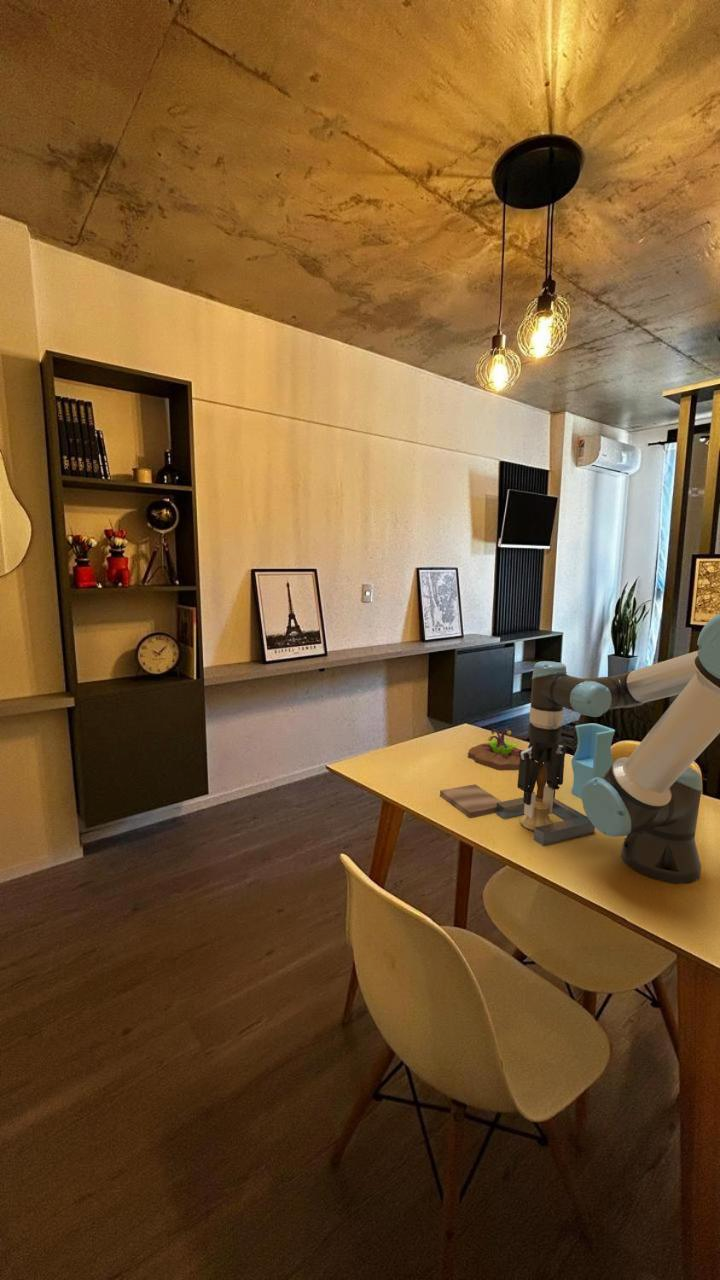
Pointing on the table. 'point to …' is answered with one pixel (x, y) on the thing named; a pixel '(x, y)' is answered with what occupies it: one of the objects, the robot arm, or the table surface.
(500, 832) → the table surface
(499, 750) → the plant
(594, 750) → the light blue holder
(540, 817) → the hand bell
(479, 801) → the walnut board
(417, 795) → the table surface
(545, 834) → the silver c-shaped bracket
